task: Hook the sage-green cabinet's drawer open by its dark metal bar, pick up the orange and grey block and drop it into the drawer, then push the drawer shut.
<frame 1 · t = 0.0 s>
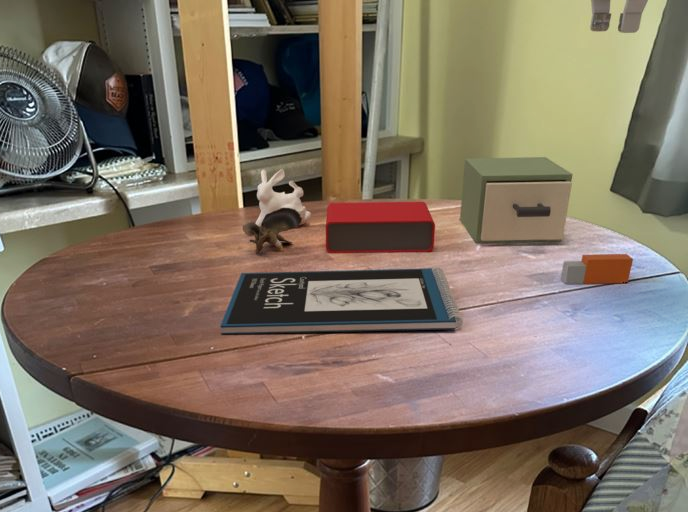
hand: (612, 32, 79), 31 cm above the table, tool pointing down, fingers open, 8 cm apart
red device housing: (377, 242, 122), on the table
orange and grey block: (593, 281, 102), on the table
drawer: (518, 205, 120), point 5 cm above the table, slide at 1.0 cm
sketchbook: (341, 305, 96), on the table
cabinet: (507, 230, 127), on the table
rabbit figurine: (279, 225, 133), on the table
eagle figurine: (273, 250, 119), on the table
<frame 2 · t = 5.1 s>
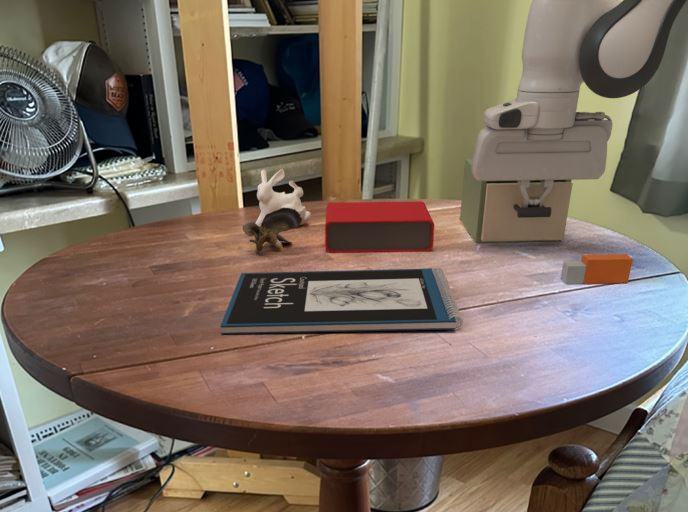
hand: (531, 209, 112), 7 cm above the table, tool pointing down, fingers closed
drawer: (519, 205, 119), point 5 cm above the table, slide at 1.4 cm, touching gripper
everything else where it was.
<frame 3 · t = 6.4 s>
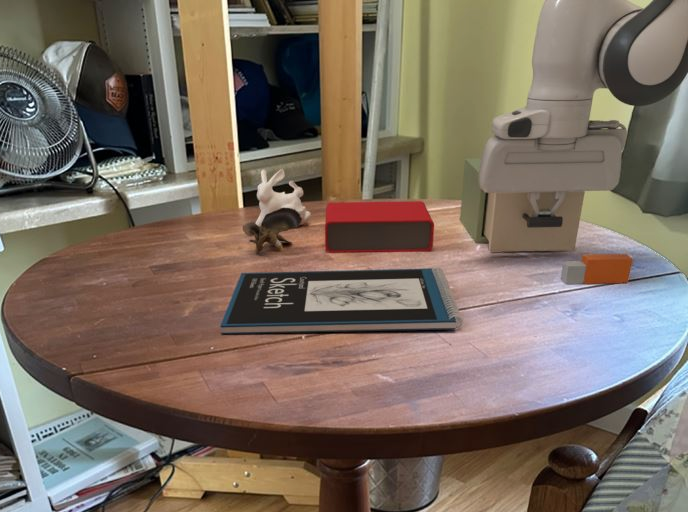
hand: (541, 222, 107), 6 cm above the table, tool pointing down, fingers closed, pressing on drawer
drawer: (528, 214, 114), point 5 cm above the table, slide at 7.7 cm, touching gripper
everything else where it was.
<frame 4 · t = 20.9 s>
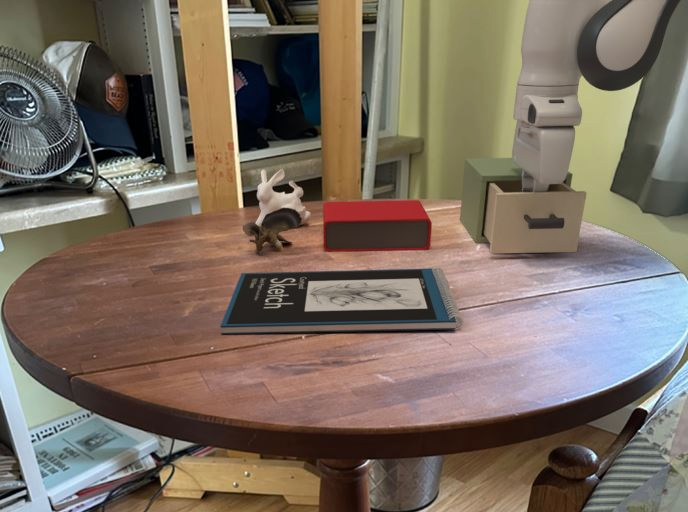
hand: (531, 203, 112), 7 cm above the table, tool pointing down, fingers open, 4 cm apart
orange and grey block: (527, 237, 115), point 2 cm above the table, touching drawer
drawer: (529, 215, 113), point 5 cm above the table, slide at 8.6 cm, touching orange and grey block
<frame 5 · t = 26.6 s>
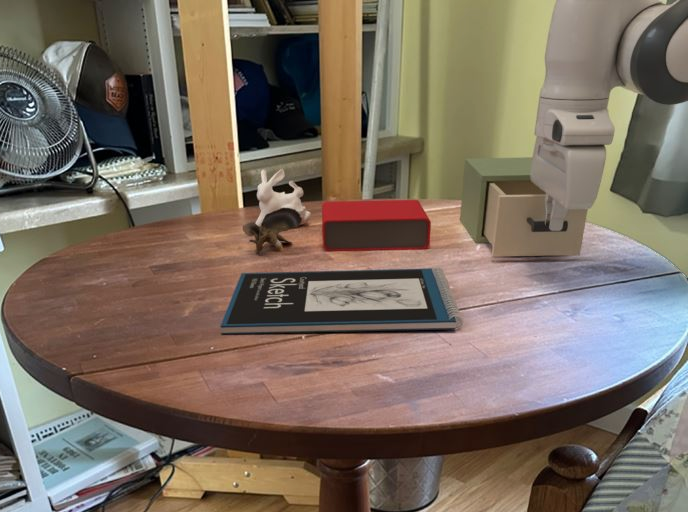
hand: (552, 228, 101), 7 cm above the table, tool pointing down, fingers closed
orange and grey block: (530, 240, 113), point 2 cm above the table, touching drawer
drawer: (532, 218, 112), point 5 cm above the table, slide at 10.4 cm, touching orange and grey block, gripper
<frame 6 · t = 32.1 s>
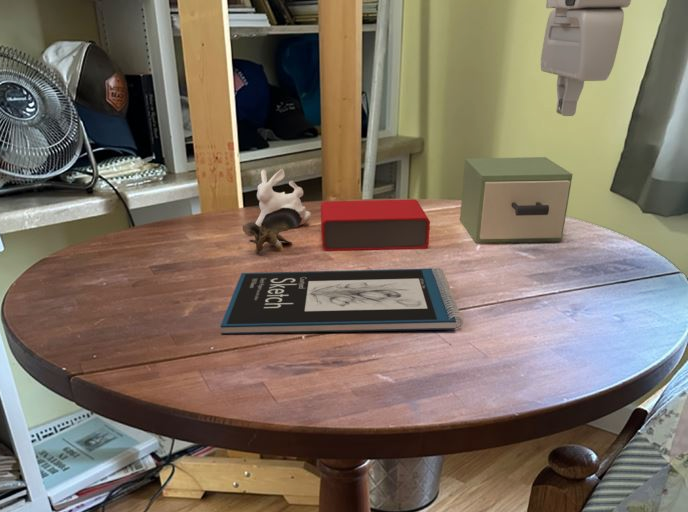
hand: (565, 114, 95), 21 cm above the table, tool pointing down, fingers closed
orange and grey block: (515, 224, 122), point 2 cm above the table, touching drawer
drawer: (517, 204, 120), point 5 cm above the table, slide at 0.0 cm, touching orange and grey block
at the end: drawer pulled out 10.8 cm at the most during the clip, back to where it started at the end; orange and grey block inside the target area in the cabinet (4.8 cm from its centre), point 2.1 cm above the cabinet's base; drawer slide at 0.0 cm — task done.
